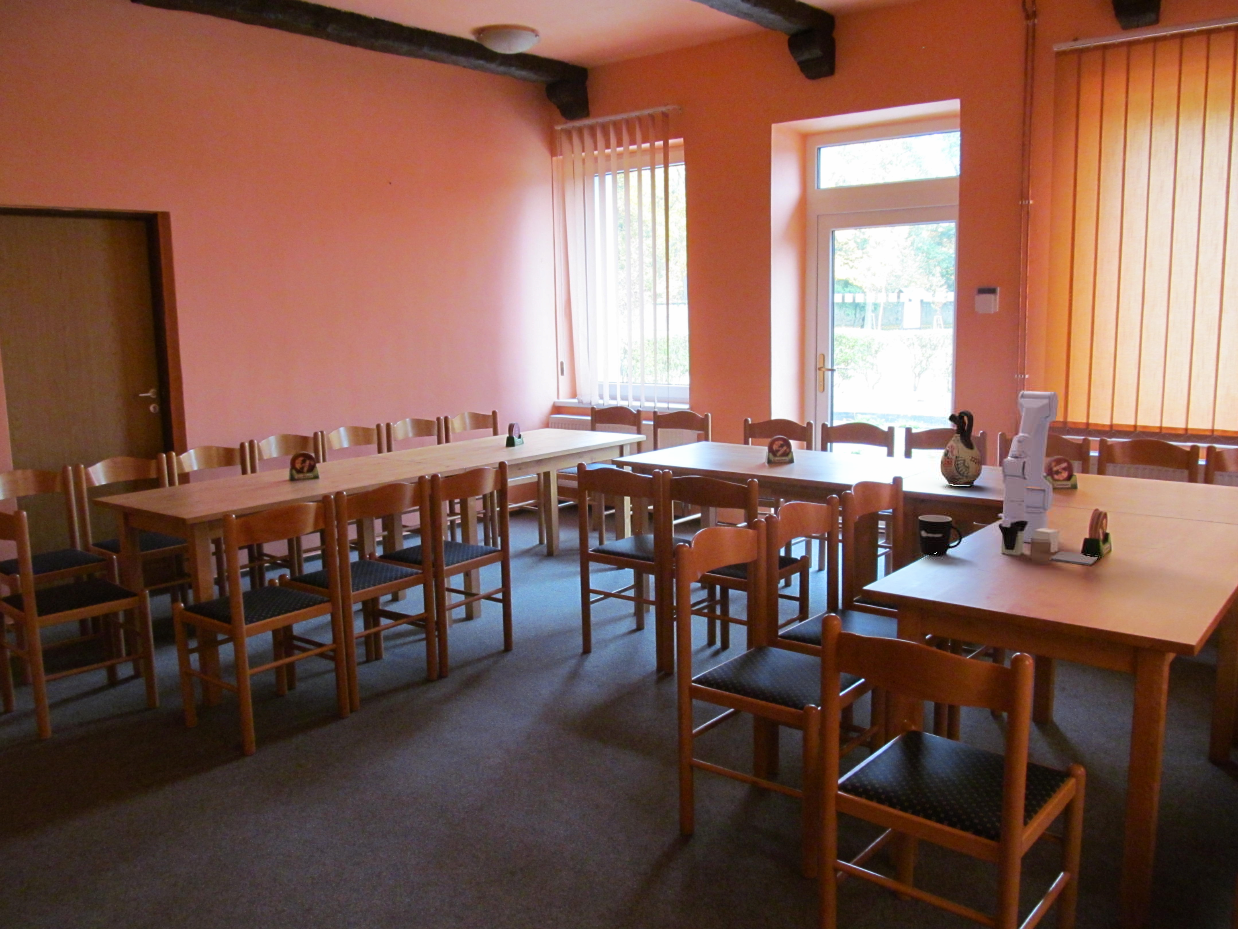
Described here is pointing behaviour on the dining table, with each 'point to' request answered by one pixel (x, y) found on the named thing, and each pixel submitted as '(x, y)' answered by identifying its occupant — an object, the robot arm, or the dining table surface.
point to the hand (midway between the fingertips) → (1012, 547)
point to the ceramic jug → (961, 453)
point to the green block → (1018, 545)
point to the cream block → (1049, 537)
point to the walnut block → (1040, 550)
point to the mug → (936, 534)
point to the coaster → (1074, 558)
